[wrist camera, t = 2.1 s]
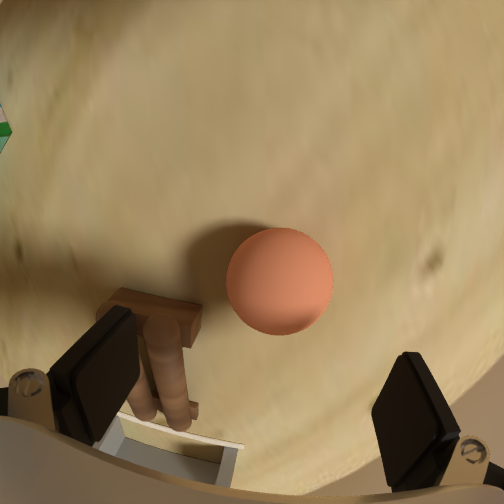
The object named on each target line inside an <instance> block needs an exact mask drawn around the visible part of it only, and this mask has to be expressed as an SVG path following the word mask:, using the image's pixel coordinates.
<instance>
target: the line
mask: <svg viewBox="0 0 504 504" xmlns="http://www.w3.org/2000/svg"><path fill="white" fill-rule="evenodd" d="M117 416H119V417H122V418H125V419H128V420H130V421H133V422H136V423H139V424H142V425H145V426H148V427H151V428H155V429H158V430H161V431H165V432H168V433H171V434H175V435H179V436H183V437H186V438H190V439H194V440H198V441H203V442H207V443H212V444H216V445H221V446H226V447H232V448H237V449H243V450H244V445H245V444H239V443H233V442H228V441H223V440H218V439H213V438H209V437H204V436H200V435H196V434H191V433H188V432H176V431H174V430H172V429H171V428H169V427H165V426H162V425H159V424H155V423H152V422H143V421H140V420H139V419H137V418H136V417H134V416H131V415H128V414H125V413H123V412H120V411H118V413H117Z"/></svg>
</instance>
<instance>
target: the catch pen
mask: <svg viewBox="0 0 504 504" xmlns="http://www.w3.org/2000/svg"><path fill="white" fill-rule="evenodd" d="M92 447H93V448H95V449H97V450H100V451H102V452H105V453H107V454H110V455H113V456H115V457H118V458H121V459H123V460H126V461H129V462H131V463H134V464H137V465H140V466H143V467H146V468H149V469H152V470H156V471H159V472H162V473H166V474H169V475H173V476H176V477H180V478H184V479H188V480H192V481H197V482H201V483H206V484H211V485H215V486H221V487H226V488H230V485H231V481H232V476H233V471H234V466H235V461H236V456H237V451H238V449H237V448H232V447H226V446H225V448H224V452H223V456H222V460H221V464H217V463H213V462H208V461H204V460H199V459H195V458H191V457H187V456H183V455H180V454H176V453H172V452H169V451H165V450H162V449H159V448H156V447H152V446H149V445H146V444H143V443H140V442H137V441H135V440H132V439H129V438H126V437H125V436H124V432H123V429H122V426H121V423H120V420H119V416H117V415H116V416H115V418H114V420H113V421H112V423H111V424H110V426H109V428H108V429H107V431H106V433H105V434H104V436H103V438H102V439H101V441H99V442H95V443H94V445H93V446H92Z"/></svg>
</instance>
